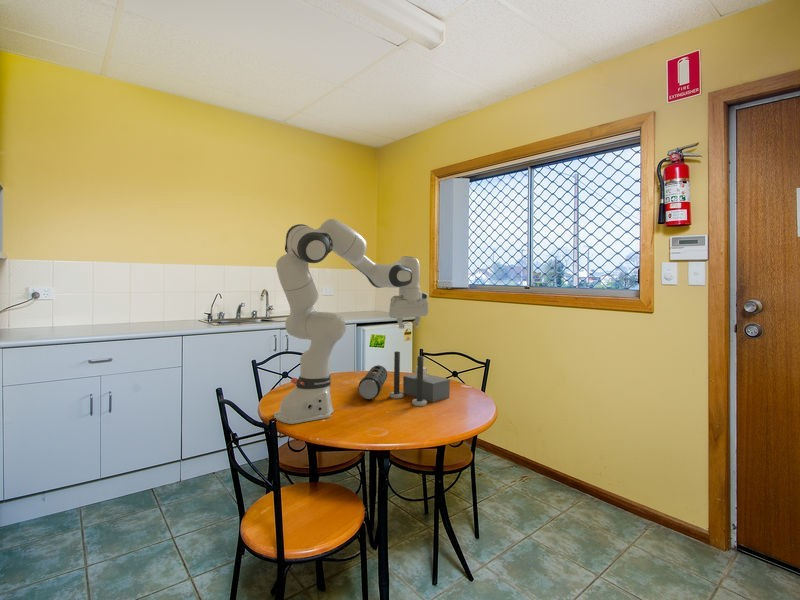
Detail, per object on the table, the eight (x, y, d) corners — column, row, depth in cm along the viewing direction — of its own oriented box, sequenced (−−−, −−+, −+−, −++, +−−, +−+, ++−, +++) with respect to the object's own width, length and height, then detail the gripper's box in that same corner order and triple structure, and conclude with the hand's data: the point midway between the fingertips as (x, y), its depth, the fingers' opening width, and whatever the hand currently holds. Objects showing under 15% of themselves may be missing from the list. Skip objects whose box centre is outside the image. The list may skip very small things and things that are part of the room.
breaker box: (432, 402, 176) (433, 383, 175) (403, 393, 189) (403, 376, 188) (449, 397, 183) (449, 379, 183) (419, 389, 196) (420, 372, 196)
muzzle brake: (387, 386, 202) (388, 365, 201) (379, 403, 174) (379, 378, 173) (368, 385, 203) (368, 364, 202) (356, 402, 175) (357, 378, 174)
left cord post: (396, 399, 179) (396, 353, 178) (387, 396, 183) (387, 351, 182) (406, 397, 183) (406, 352, 182) (396, 394, 187) (397, 350, 186)
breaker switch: (423, 379, 181) (423, 368, 180) (415, 377, 184) (415, 366, 184) (426, 379, 182) (426, 367, 182) (418, 377, 186) (418, 366, 185)
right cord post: (419, 407, 169) (420, 358, 168) (409, 403, 173) (410, 356, 172) (429, 404, 173) (430, 356, 172) (419, 401, 177) (420, 354, 176)
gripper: (396, 296, 166) (396, 330, 167) (430, 295, 180) (430, 326, 181) (385, 295, 171) (385, 328, 171) (420, 294, 185) (419, 325, 186)
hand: (408, 327), depth 176 cm, fingers open, 7 cm apart
